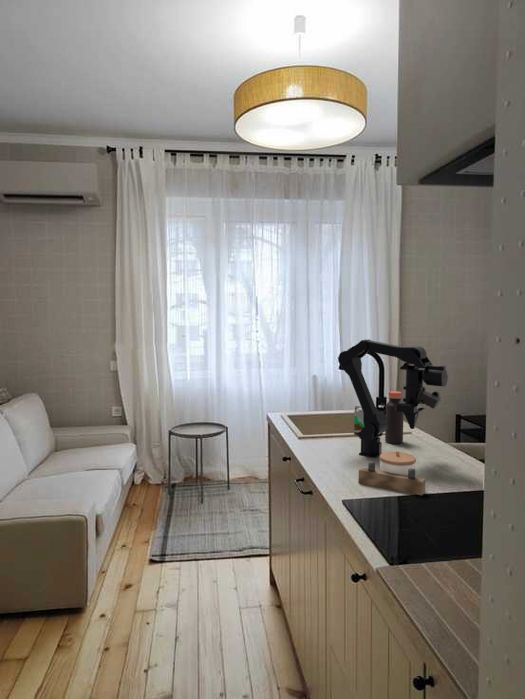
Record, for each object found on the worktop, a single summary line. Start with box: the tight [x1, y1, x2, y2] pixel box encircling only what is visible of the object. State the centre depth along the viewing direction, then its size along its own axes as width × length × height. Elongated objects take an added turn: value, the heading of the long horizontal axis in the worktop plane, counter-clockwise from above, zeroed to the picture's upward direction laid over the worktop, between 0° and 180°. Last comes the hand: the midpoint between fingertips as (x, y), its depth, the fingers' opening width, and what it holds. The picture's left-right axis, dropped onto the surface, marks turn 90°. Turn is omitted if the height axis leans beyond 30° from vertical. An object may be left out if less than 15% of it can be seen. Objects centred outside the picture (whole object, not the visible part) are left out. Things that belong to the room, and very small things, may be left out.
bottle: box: [384, 390, 405, 445], centre depth 198 cm, size 7×7×20 cm
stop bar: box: [357, 461, 426, 496], centre depth 148 cm, size 19×3×6 cm, turn 58°
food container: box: [353, 405, 364, 435], centre depth 215 cm, size 12×6×10 cm, turn 168°
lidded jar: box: [379, 450, 417, 476], centre depth 153 cm, size 11×11×9 cm
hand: (412, 428), depth 171 cm, fingers closed
